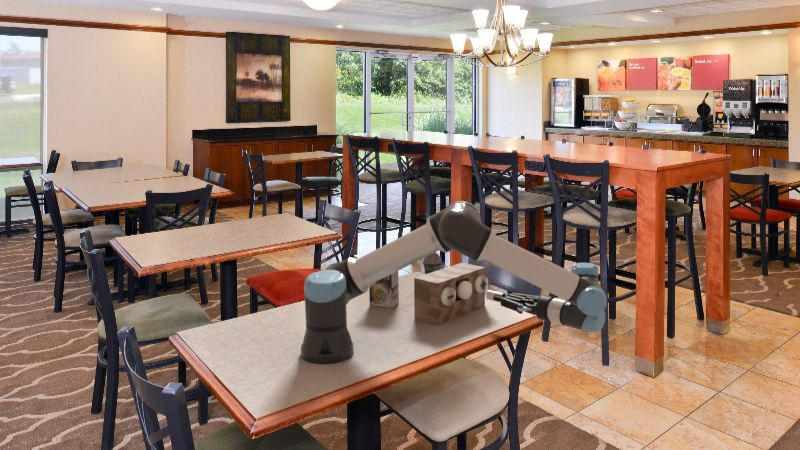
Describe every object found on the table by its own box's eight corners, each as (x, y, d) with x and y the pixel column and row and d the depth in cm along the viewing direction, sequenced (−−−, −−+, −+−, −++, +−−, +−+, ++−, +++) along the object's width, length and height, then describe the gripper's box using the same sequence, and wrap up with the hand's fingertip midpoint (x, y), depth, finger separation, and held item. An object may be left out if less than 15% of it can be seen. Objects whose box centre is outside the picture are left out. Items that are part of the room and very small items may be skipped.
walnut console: (443, 326, 207) (443, 284, 204) (414, 318, 215) (414, 277, 212) (490, 307, 225) (491, 268, 223) (462, 300, 234) (462, 262, 231)
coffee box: (399, 303, 231) (398, 259, 228) (392, 308, 225) (391, 263, 222) (376, 300, 235) (375, 257, 231) (368, 305, 229) (367, 261, 226)
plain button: (461, 301, 213) (461, 283, 212) (456, 300, 214) (456, 282, 213) (472, 297, 217) (472, 280, 216) (467, 295, 219) (467, 278, 217)
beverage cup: (419, 293, 242) (419, 241, 238) (427, 288, 248) (427, 237, 244) (437, 296, 238) (437, 243, 234) (445, 291, 244) (445, 239, 241)
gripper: (541, 327, 189) (475, 310, 205) (562, 316, 199) (498, 300, 214) (541, 302, 188) (475, 287, 204) (563, 292, 197) (499, 279, 213)
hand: (487, 294), depth 209 cm, fingers closed
